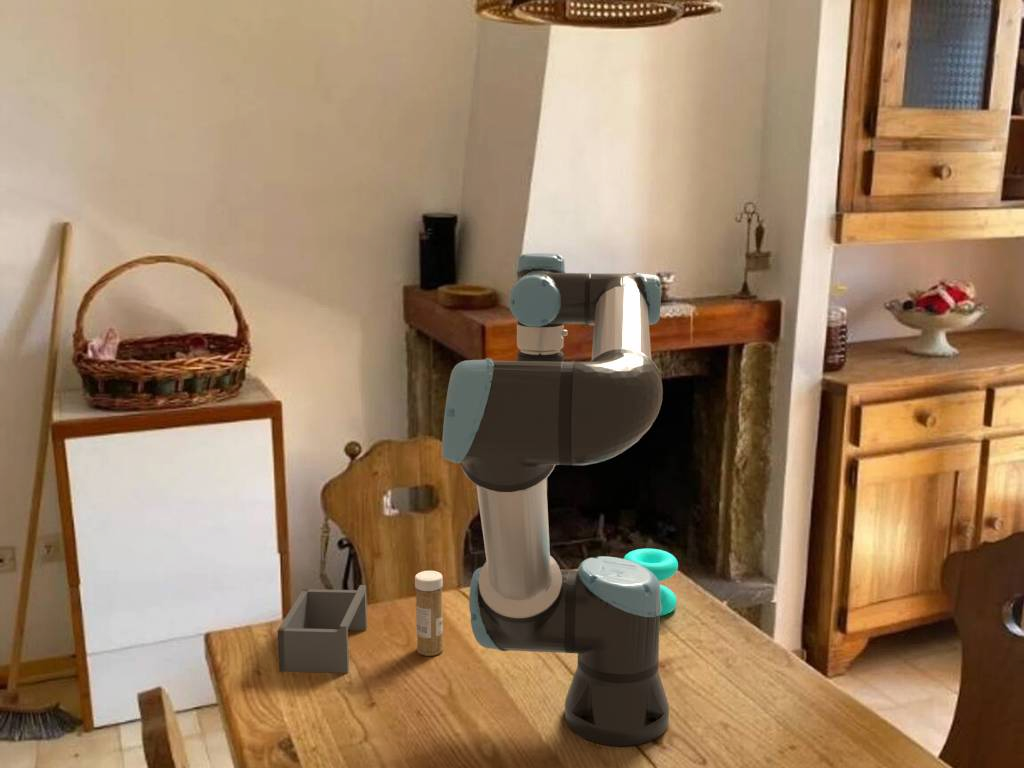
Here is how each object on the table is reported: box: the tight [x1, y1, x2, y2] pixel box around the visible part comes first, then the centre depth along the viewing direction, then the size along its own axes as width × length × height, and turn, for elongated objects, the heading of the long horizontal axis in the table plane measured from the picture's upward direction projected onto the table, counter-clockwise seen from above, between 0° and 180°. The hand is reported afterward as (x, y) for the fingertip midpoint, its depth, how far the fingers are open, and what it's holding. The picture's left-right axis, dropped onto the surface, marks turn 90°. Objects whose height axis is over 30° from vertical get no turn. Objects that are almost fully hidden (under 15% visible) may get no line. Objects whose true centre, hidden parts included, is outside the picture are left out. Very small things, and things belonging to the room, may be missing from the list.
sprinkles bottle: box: [414, 570, 444, 657], centre depth 163 cm, size 5×5×13 cm
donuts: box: [623, 548, 679, 617], centre depth 179 cm, size 10×10×10 cm
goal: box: [276, 584, 368, 674], centre depth 164 cm, size 16×11×8 cm
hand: (539, 476), depth 163 cm, fingers open, 13 cm apart
